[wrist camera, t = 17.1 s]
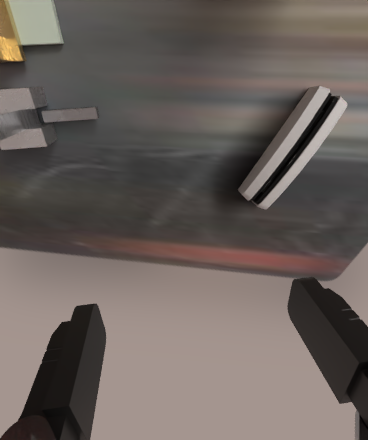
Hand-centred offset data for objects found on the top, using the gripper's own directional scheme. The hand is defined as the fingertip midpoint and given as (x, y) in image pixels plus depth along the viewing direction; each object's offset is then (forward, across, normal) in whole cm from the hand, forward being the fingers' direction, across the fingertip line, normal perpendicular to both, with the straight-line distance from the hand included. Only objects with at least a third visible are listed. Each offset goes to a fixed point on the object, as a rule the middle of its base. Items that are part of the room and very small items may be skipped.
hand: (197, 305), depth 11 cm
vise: (+28, +13, -5) cm, 31 cm away
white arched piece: (+28, -16, +1) cm, 33 cm away
